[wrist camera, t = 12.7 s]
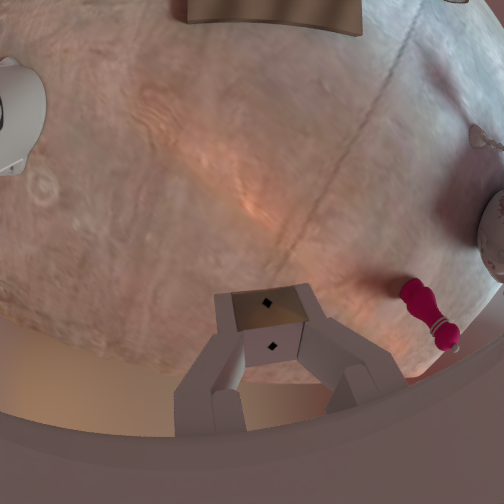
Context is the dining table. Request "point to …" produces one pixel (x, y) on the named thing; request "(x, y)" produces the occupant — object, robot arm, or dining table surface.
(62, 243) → the dining table surface
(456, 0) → the tin
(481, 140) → the chalice
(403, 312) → the dining table surface
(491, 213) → the chamber pot
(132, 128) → the dining table surface
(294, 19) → the board
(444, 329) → the pepper mill
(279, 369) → the dining table surface
